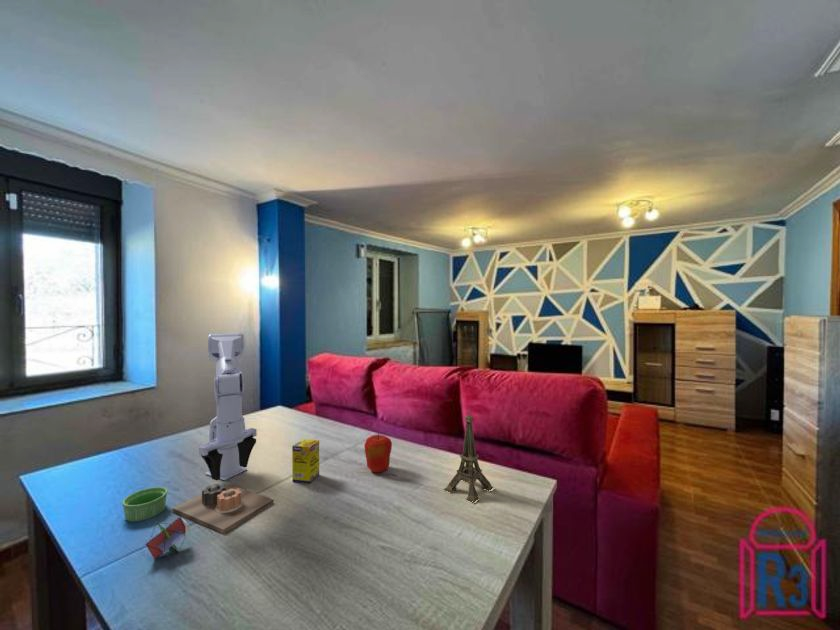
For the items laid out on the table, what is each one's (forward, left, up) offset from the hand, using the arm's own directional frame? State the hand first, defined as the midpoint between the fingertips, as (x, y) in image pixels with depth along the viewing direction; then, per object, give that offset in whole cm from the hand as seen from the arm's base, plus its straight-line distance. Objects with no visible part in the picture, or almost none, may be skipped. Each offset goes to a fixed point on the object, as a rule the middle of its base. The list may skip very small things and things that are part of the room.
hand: (230, 472), depth 89 cm
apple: (+23, +34, -10) cm, 43 cm away
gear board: (-2, -1, -9) cm, 10 cm away
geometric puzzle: (+3, -17, -10) cm, 19 cm away
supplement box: (+6, +20, -10) cm, 23 cm away
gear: (0, -1, -8) cm, 8 cm away
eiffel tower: (+53, +35, -10) cm, 65 cm away
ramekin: (-18, -11, -10) cm, 23 cm away
